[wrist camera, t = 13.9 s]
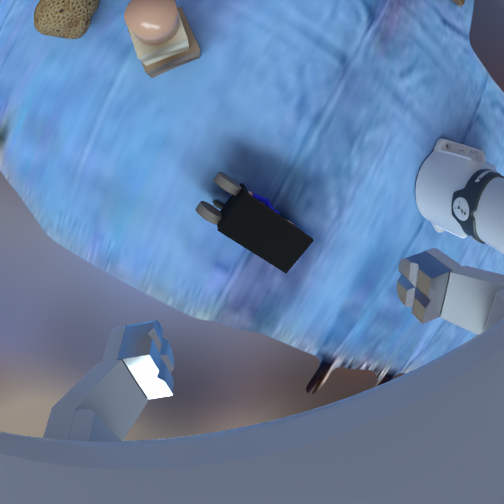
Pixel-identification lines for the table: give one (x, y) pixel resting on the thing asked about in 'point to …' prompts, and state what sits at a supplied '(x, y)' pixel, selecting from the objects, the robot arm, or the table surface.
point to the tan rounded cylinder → (152, 20)
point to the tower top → (161, 47)
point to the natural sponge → (64, 17)
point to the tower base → (179, 58)
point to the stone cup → (459, 2)
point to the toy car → (255, 225)
